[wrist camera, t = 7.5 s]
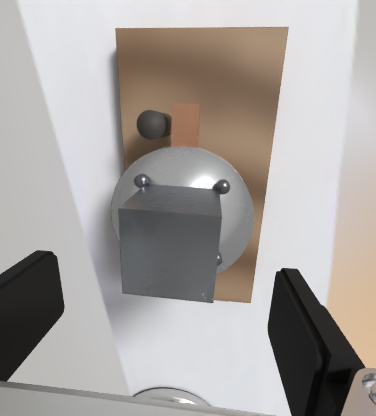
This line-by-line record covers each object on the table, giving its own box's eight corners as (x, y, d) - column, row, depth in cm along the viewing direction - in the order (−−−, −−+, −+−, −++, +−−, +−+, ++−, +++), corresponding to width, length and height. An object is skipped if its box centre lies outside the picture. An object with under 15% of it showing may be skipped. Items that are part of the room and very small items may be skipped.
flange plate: (241, 274, 17) (255, 345, 12) (122, 262, 18) (81, 324, 12) (265, 109, 14) (303, 97, 8) (114, 102, 14) (51, 87, 9)
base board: (247, 288, 23) (258, 340, 18) (138, 280, 24) (116, 326, 19) (279, 38, 16) (315, -8, 11) (125, 38, 17) (84, -3, 12)
